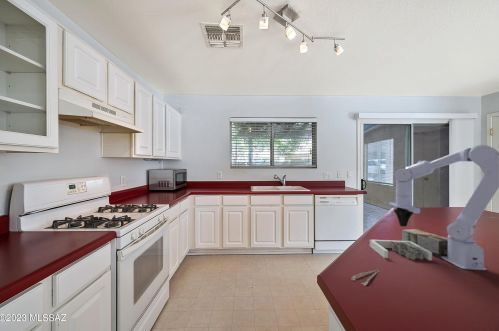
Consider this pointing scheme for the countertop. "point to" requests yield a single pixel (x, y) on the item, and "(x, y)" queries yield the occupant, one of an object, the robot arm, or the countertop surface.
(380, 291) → the countertop surface
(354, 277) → the tweezers
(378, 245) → the white l-shaped bracket
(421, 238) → the coffee box
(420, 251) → the egg carton
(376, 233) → the countertop surface
